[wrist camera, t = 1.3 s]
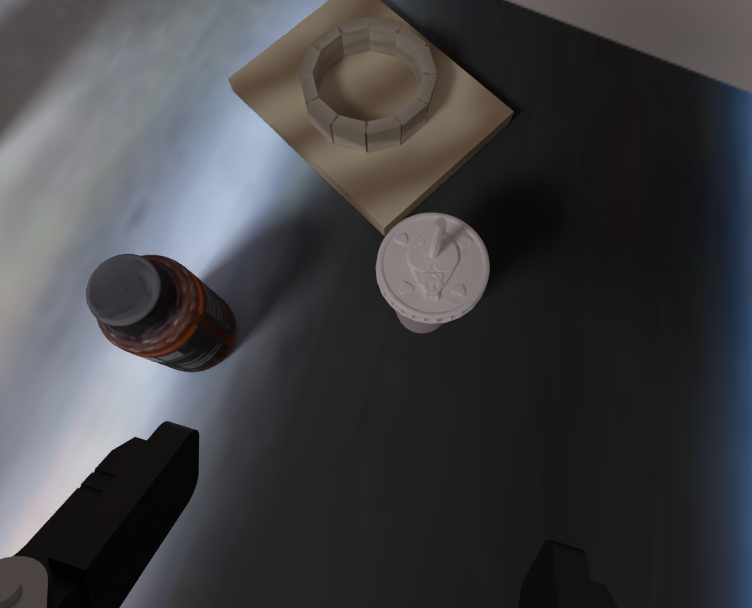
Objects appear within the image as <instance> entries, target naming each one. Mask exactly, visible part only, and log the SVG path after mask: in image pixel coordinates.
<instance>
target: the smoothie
mask: <svg viewBox="0 0 752 608" xmlns="http://www.w3.org/2000/svg"><path fill="white" fill-rule="evenodd" d="M489 269H490V265H489V257H488V253H487V250H486V247H485V245H484V243H483V241H482V239H481V238H480V236H479V235H478V234H477V233H476V232H475V231H474V230H473V229H472V228H471V227H470V226H469V225H468V224H466V223H465V222H463V221H462V220H460V219H458V218H456V217H453V216H450V215H446V214H442V213H422V214H417V215H414V216H411V217H409V218H407V219H405V220H403V221H401V222H400V223H398V224H397V225H396V226H394V227H393V228H392V229H391V230H390V231H389V233H388V234H387V235H386V237H385V238H384V240H383V242H382V244H381V246H380V249H379V252H378V257H377V264H376V275H377V282H378V285H379V287H380V290H381V293H382V295H383V296H384V298H385V299H386V300H387V302H388V303H389V304H390V306H391V307H393V308H394V309H395V311H396V313H397V316H398V318H399V320H400V322H401V323H402V324H403V325H404V326H405V327H406V328H407V329H409V330H411V331H413V332H416V333H428V332H431V331H434V330H436V329H437V328H438V327H440V326H441V325H442V324H444V323H446V322H449V321H452V320H454V319H457V318H460V317H461V316H463V315H464V314H466V313H467V312H468V311H470V310H471V309H472V308H473V307H474V306H475V305H476V303H477V302H478V301H479V300H480V299H481V297H482V294H483V292H484V290H485V287H486V285H487V281H488V277H489Z"/></svg>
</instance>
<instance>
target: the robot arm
mask: <svg viewBox="0 0 752 608" xmlns="http://www.w3.org/2000/svg"><path fill="white" fill-rule="evenodd" d="M198 473H199V432H198V431H197V430H195V429H191V428H188V427H185V426H182V425H178V424H175V423H172V422H169V421H166V422H163V423H162V424H161V425H160V426H159V427H158V428H157V429H156V430H155V432H154V433H153V434H152V435H151V436H150V437H149V439H148V440H143V439H140V438H137V437H134V438H132V439H131V440H129V441H127V442H126V443H124V444H122V445H120V446H119V447H117V448H115V449H114V450H112V451H111V452H110V453H109V454H108V455H107V456H106V458H105V459H104V460H103V461H102V462H101V463H100V464H99V465H98V466H97V467H96V469H95V471H94V473H91V474H90V475H89V476H88V477H87V478H86V479H85V481H84V482H83V483H82V484H81V487H80V488H77V489H76V490H75V492H74V493H73V494H72V495H71V496H70V497H69V498H68V499H67V500H66V501H65V502H64V504H63V505H62V506H61V507H60V508H59V509H58V510H57V511H56V512H55V513H54V515H53V516H52V517H51V518H50V519H49V520H48V521H47V522H46V523H45V524H44V526H43V527H42V528H41V529H40V530H39V531H38V532H37V533H36V534H35V535H34V536H33V538H32V539H31V540H30V541H29V542H28V543H27V544H26V545H25V546H24V547H23V548H22V549H21V550H20V551H19V552H18V553H16V554H15V555H14V556H12V557H7V558H3V559H0V608H119V607H120V606H121V604H122V603H123V601H124V600H125V598H126V597H127V595H128V594H129V592H130V591H131V589H132V588H133V586H134V585H135V583H136V582H137V580H138V579H139V577H140V576H141V574H142V572H143V571H144V569H145V568H146V566H147V565H148V563H149V562H150V560H151V559H152V557H153V556H154V554H155V553H156V551H157V550H158V548H159V547H160V545H161V544H162V542H163V541H164V539H165V537H166V536H167V534H168V533H169V531H170V530H171V528H172V527H173V525H174V524H175V522H176V521H177V519H178V518H179V516H180V515H181V513H182V512H183V510H184V509H185V507H186V506H187V504H188V502H189V501H190V499H191V497H192V495H193V493H194V490H195V487H196V484H197V480H198ZM519 608H618V607H617V605H616V603H615V601H614V600H613V598H612V596H611V594H610V592H609V590H608V588H607V586H606V585H604V584H601V583H598V582H595V581H591V580H590V574H589V567H588V560H587V556H586V553H585V552H584V550H582V549H579V548H575V547H572V546H569V545H566V544H562V543H559V542H556V541H553V540H549V539H548V540H546V541H545V542H544V544H543V546H542V548H541V549H540V551H539V553H538V555H537V557H536V559H535V560H534V562H533V564H532V566H531V568H530V570H529V571H528V573H527V575H526V577H525V579H524V581H523V584H522V587H521V592H520V597H519Z"/></svg>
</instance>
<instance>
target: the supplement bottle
mask: <svg viewBox="0 0 752 608" xmlns="http://www.w3.org/2000/svg"><path fill="white" fill-rule="evenodd" d="M86 299H87V304H88V306H89V309H90V310H91V312H92V314H93V315H94V316H95V317H96V319H97V321H98V325H99V327H100V329H101V331H102V333H103V334H104V335H105V337H106V338H107V339H108V340H109V341H110V342H111V343H112V344H114V345H115V346H117V347H119V348H121V349H122V350H124V351H127V352H129V353H132V354H134V355H137V356H140V357H143V358H146V359H148V360H151V361H154V362H157V363H159V364H162V365H165V366H168V367H170V368H173V369H176V370H179V371H184V372H199V371H204V370H207V369H210V368H211V367H213V366H215V365H217V364H218V363H219V362H221V361H222V360H223V359H224V358H225V357H226V355H227V354H228V353H229V351H230V349H231V347H232V345H233V343H234V340H235V336H236V322H235V318H234V315H233V313H232V311H231V309H230V308H229V306H228V305H227V304H226V303H225V301H224V300H223V299H221V298H220V297H219V296H218V295H217V294H216V293H215V292H213V291H212V290H211V289H210V288H209V287H207V286H206V285H205V284H204V283H203V282H202V281H201V280H199V279H198V278H197V277H196V276H195V275H194V274H193V273H191V272H190V271H189V270H188V269H187V268H185V267H184V266H183V265H181V264H180V263H178V262H176V261H175V260H172V259H170V258H168V257H164V256H159V255H143V256H139V255H134V254H122V255H117V256H115V257H112V258H110V259H108V260H106V261H104V262H103V263H102V264H101V265H99V266H98V267H97V269H96V270H95V271H94V272H93V274H92V275H91V277H90V279H89V282H88V285H87V289H86Z"/></svg>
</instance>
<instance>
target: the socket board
mask: <svg viewBox="0 0 752 608" xmlns="http://www.w3.org/2000/svg"><path fill="white" fill-rule="evenodd" d="M228 80H229V82H230V85H231V87H232V89H233V91H234V92H235V93H236V94H237V95H238V96H239V97H240V98H241V99H242V100H243V101H244V102H245V103H246V104H247V105H248V106H249V107H250V108H251V109H252V110H253V111H255V112H256V113H257V114H258V115H259V116H260V117H261V118H262V119H263V120H264V121H265V122H266V123H267V124H268V125H269V126H270V127H271V128H272V129H273V130H274V131H275V132H276V133H277V134H279V135H280V136H281V137H282V138H283V139H284V140H285V141H286V142H287V143H288V144H289V145H290V146H291V147H292V148H293V149H294V150H295V151H296V152H297V153H298V154H299V155H300V156H301V157H302V158H304V159H305V160H306V161H307V162H308V163H309V164H310V165H311V166H312V167H313V168H314V169H315V170H316V171H317V172H318V173H319V174H320V175H321V176H322V177H323V178H324V179H325V180H326V181H328V182H329V183H330V184H331V185H332V186H333V187H334V188H335V189H336V190H337V191H338V192H339V193H340V194H341V195H342V196H343V197H344V198H345V199H346V200H347V201H348V202H349V203H350V204H351V205H353V206H354V207H355V208H356V209H357V210H358V211H359V212H360V213H361V214H362V215H363V216H364V217H365V218H366V219H367V220H368V221H369V222H370V223H371V224H372V225H373V226H374V227H375V228H377V229H378V230H379V231H380V232H381V233H382V234H383V235H384V236H385V235H386V234H387V233H388V232H389V231H390V230H391V229H392V228H393V227H394V226H396V225H397V224H398V223H399V222H400V221H402V220H403V219H404V218H405V217H406V216H407V215H408V214H409V213H410V212H412V211H413V210H414V209H415V208H416V207H417V206H418V205H419V204H420V203H422V202H423V201H424V200H425V199H426V198H427V197H428V196H429V195H430V194H431V193H433V192H434V191H435V190H436V189H437V188H438V187H439V186H440V185H441V184H443V183H444V182H445V181H446V180H447V179H448V178H449V177H450V176H451V175H453V174H454V173H455V172H456V171H457V170H458V169H459V168H460V167H461V166H463V165H464V164H465V163H466V162H467V161H468V160H469V159H470V158H471V157H472V156H474V155H475V154H476V153H477V152H478V151H479V150H480V149H481V148H482V147H484V146H485V145H486V144H487V143H488V142H489V141H490V140H491V139H492V138H494V137H495V136H496V135H497V134H498V133H499V132H500V131H501V130H502V129H504V128H505V127H506V126H507V125H508V124H509V123H510V120H511V118H512V115H513V113H514V111H512V110H511V109H510V108H509V107H508V106H506V105H505V104H504V103H503V102H502V101H500V100H499V99H498V98H497V97H496V96H494V95H493V94H492V93H491V92H490V91H488V90H487V89H486V88H485V87H484V86H482V85H481V84H480V83H479V82H478V81H476V80H475V79H474V78H473V77H472V76H470V75H469V74H468V73H467V72H466V71H464V70H463V69H462V68H461V67H460V66H458V65H457V64H456V63H455V62H453V61H452V60H451V59H450V58H449V57H447V56H446V55H445V54H444V53H443V52H441V51H440V50H439V49H438V48H437V47H435V46H434V45H433V44H432V43H431V42H429V41H428V40H427V39H426V38H425V37H423V36H422V35H421V34H420V33H419V32H417V31H416V30H415V29H414V28H413V27H411V26H410V25H409V24H408V23H407V22H405V21H404V20H403V19H402V18H401V17H399V16H398V15H397V14H396V13H395V12H393V11H392V10H391V9H390V8H389V7H387V6H386V5H385V4H384V3H383V2H381V1H380V0H329V1H328V2H326V3H325V4H324V5H322V6H321V7H320V8H319V9H317V10H316V11H315V12H313V13H312V14H311V15H310V16H308V17H307V18H306V19H304V20H303V21H302V22H301V23H299V24H298V25H297V26H295V27H294V28H293V29H292V30H290V31H289V32H288V33H286V34H285V35H284V36H283V37H281V38H280V39H279V40H277V41H276V42H275V43H274V44H272V45H271V46H270V47H268V48H267V49H266V50H265V51H263V52H262V53H261V54H259V55H258V56H257V57H256V58H254V59H253V60H252V61H250V62H249V63H248V64H247V65H245V66H244V67H243V68H241V69H240V70H239V71H238V72H236V73H235V74H234V75H232V76H231V77H230V78H229V79H228Z"/></svg>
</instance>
